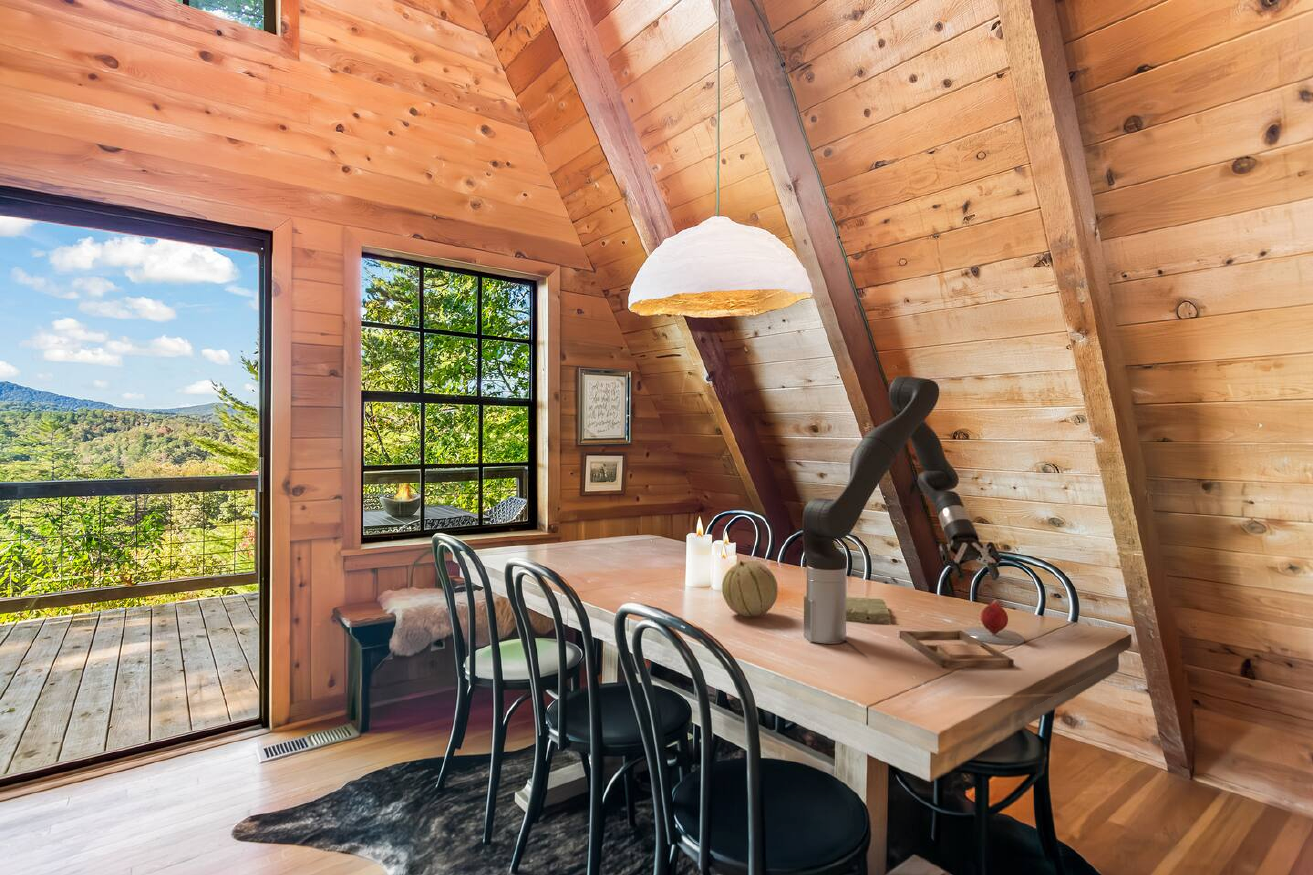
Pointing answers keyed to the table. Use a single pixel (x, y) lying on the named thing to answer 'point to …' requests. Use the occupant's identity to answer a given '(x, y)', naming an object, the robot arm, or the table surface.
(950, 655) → the offcut top
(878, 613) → the green flat block
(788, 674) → the table surface
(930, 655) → the brown flat frame
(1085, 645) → the table surface
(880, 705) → the table surface
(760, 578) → the cantaloupe
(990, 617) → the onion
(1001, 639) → the plate
